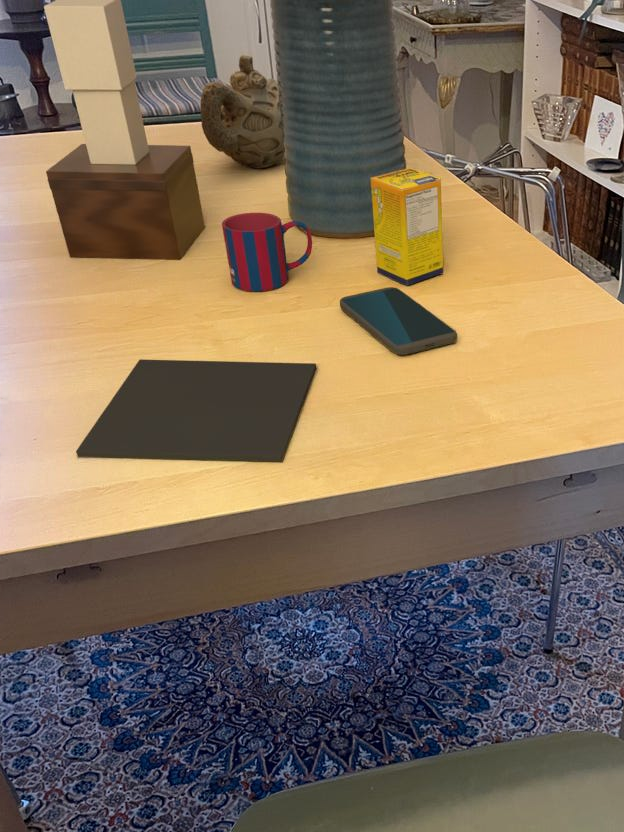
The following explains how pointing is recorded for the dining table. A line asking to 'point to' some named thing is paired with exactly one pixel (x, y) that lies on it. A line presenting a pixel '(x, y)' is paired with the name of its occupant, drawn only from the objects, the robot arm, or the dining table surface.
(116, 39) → the upper box
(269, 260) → the mug
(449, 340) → the smartphone
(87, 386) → the dining table surface
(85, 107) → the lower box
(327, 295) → the dining table surface
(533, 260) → the dining table surface
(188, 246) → the brown rectangular block
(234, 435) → the rubber mat
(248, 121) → the teapot
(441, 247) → the supplement box
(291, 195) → the vase
